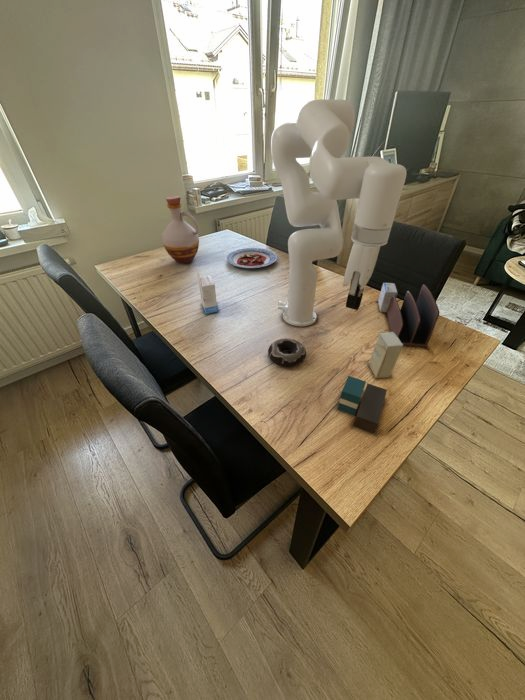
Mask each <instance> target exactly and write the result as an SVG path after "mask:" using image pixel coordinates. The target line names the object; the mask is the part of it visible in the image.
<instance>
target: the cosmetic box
mask: <svg viewBox="0 0 525 700" xmlns="http://www.w3.org/2000/svg"><path fill="white" fill-rule="evenodd" d="M403 347H404V345H403V344H402V343H401V341H400V340H399V338H398V337H397V336H396V334H395V333H394V332H391V331H385V332H379V333H378V336H377V340H376V341H375V345H374V347H373V351H372V354H371V356H370V359H369V362H368V366H369V368H370V369H371V371H372V373H373V375H374V377H375V378H376V379H381V378H382V379H383V378H390V377H391V376H392V372H393V369H395V366H396V363H397V362H398V361H397V360H399V359H398V358H399V357H400V354H401V352H402V349H403Z"/></svg>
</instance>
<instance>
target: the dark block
mask: <svg viewBox="0 0 525 700" xmlns="http://www.w3.org/2000/svg"><path fill="white" fill-rule="evenodd" d="M387 391H388V389H386V388H383V387H380V386H377V385H374V384H371V383H368V382H366V385H365V388H364V391H363V394H362V397H361V400H360V403H359V406H358V409H357V412H356V415H355V419H354V422H353V424H352V427H355V428H358V429H360V430H363V431H365V432H368V433H370V434H373V435H375V433H376V430H377V428H378V427H379V423H380V419H381V414H382V410H383V407H384V403H385V399H386V396H387Z"/></svg>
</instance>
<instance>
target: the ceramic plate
mask: <svg viewBox="0 0 525 700" xmlns="http://www.w3.org/2000/svg"><path fill="white" fill-rule="evenodd" d="M277 259H278V255H277V254H276V253H275V252H273V251H271V250H269V249H265V248H260V247H245V248H239V249H237V250H236V249H235V250H234V251H231V252H230V253H228V255H227V256H226V261H227V262H228V264H230V265H232V266H234V267H237V268H242V269H257V268H264V267H268V266H270V265H272V264H274V263H275V262H276V261H277Z"/></svg>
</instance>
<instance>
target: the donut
mask: <svg viewBox="0 0 525 700" xmlns="http://www.w3.org/2000/svg"><path fill="white" fill-rule="evenodd" d="M285 352H290V353H285ZM267 353H268V357H269V359H270V361H271V362H272V363H273V364H275V365H277V366H279V367H283V368H294V367H296V366H298V365H301V364H302V363H303V362H304V360H305V359H306V356H307V351H306V347H305V346H304V344H303V343H302V342H300V341H298V340H296V339H294V338H289V337H284V338H279V339H276V340H275V341H273V342H272V343H271V344H270V345H269V346H268V350H267Z"/></svg>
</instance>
